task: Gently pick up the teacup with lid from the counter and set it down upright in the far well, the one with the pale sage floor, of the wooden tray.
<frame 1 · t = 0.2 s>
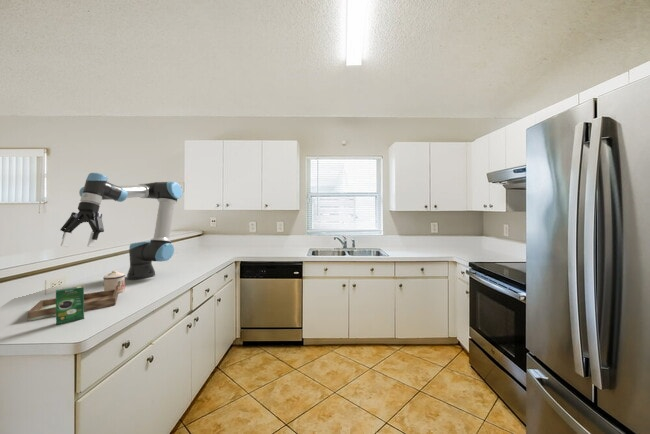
hand: (77, 246, 119), 27 cm above the counter, tool tilted 15°, fingers open, 13 cm apart
teacup with lid: (116, 291, 138), on the counter
wooden tray: (78, 306, 116), on the counter
coffee box: (70, 321, 101), on the counter
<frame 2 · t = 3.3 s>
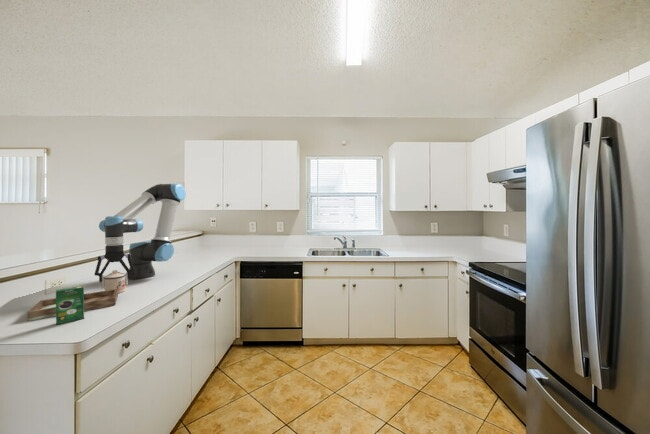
hand: (115, 286, 138), 3 cm above the counter, tool pointing down, fingers closed on teacup with lid, 9 cm apart
teacup with lid: (117, 291, 138), on the counter, touching gripper
everything else where it was.
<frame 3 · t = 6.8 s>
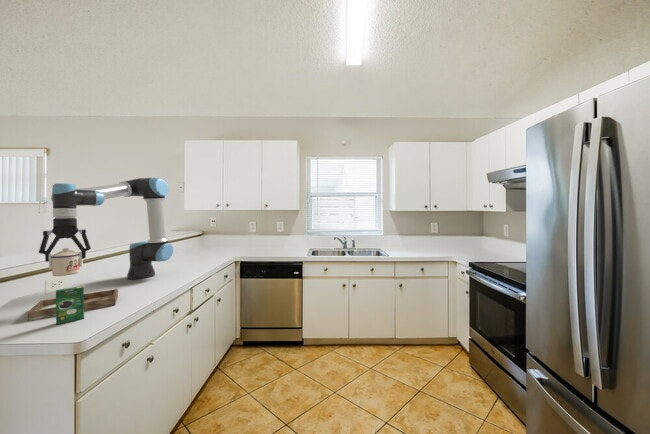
hand: (66, 267, 116), 18 cm above the counter, tool pointing down, fingers closed on teacup with lid, 9 cm apart
teacup with lid: (69, 273, 116), point 15 cm above the counter, touching gripper
everything else where it was.
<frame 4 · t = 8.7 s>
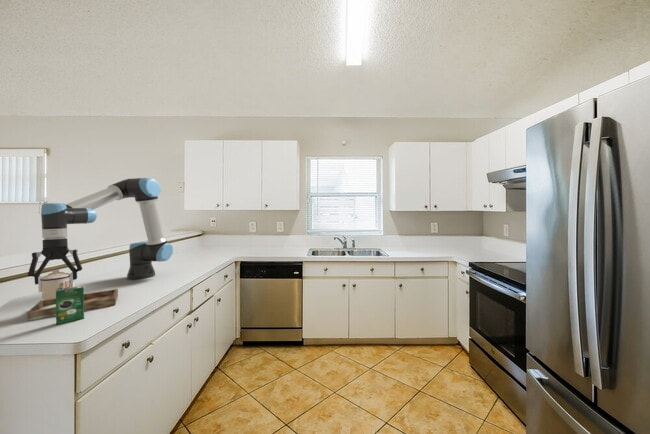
hand: (57, 289, 112), 9 cm above the counter, tool pointing down, fingers closed on teacup with lid, 9 cm apart
teacup with lid: (59, 295, 113), point 6 cm above the counter, touching gripper
everything else where it was.
when the fingers open (6 cm above the counter, at t = 10.3 s): teacup with lid drops 2 cm, resting on wooden tray.
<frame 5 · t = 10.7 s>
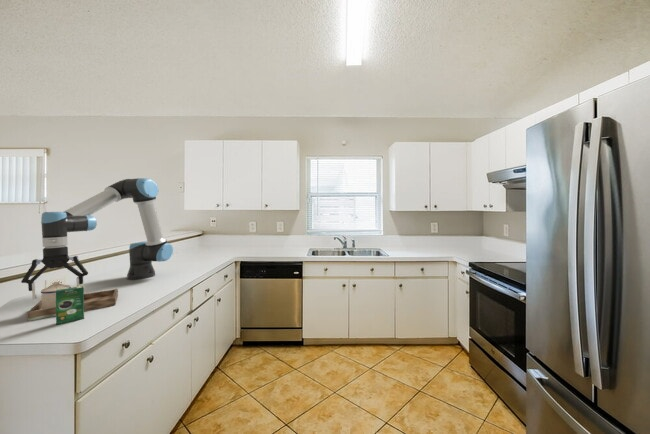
hand: (57, 294, 112), 7 cm above the counter, tool pointing down, fingers open, 13 cm apart
teacup with lid: (59, 307, 113), point 1 cm above the counter, touching wooden tray
everything else where it was.
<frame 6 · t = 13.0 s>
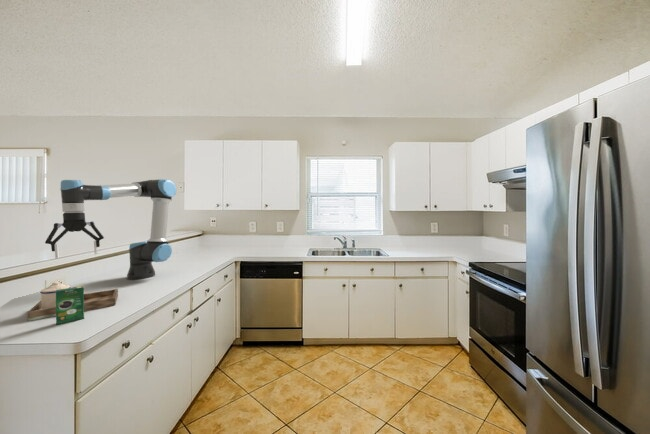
hand: (77, 255, 124), 22 cm above the counter, tool pointing down, fingers open, 13 cm apart
nothing on the counter moved.
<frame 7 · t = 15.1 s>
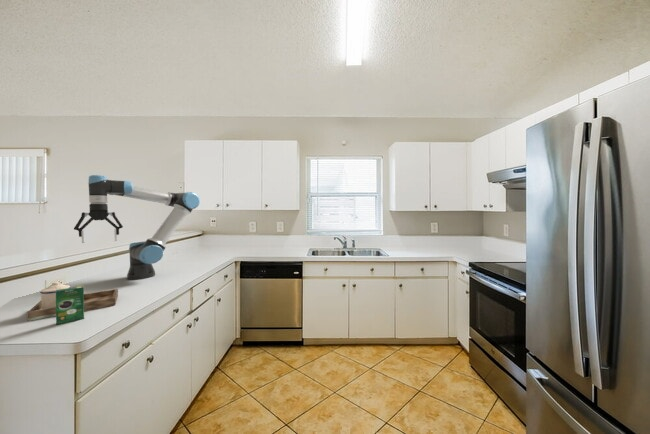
hand: (100, 241, 141), 27 cm above the counter, tool pointing down, fingers open, 13 cm apart
nothing on the counter moved.
at the end: teacup with lid 0.4 cm from the target spot on the wooden tray, point 0.8 cm above the wooden tray's base; teacup with lid tilted 0°; the gripper is holding nothing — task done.
